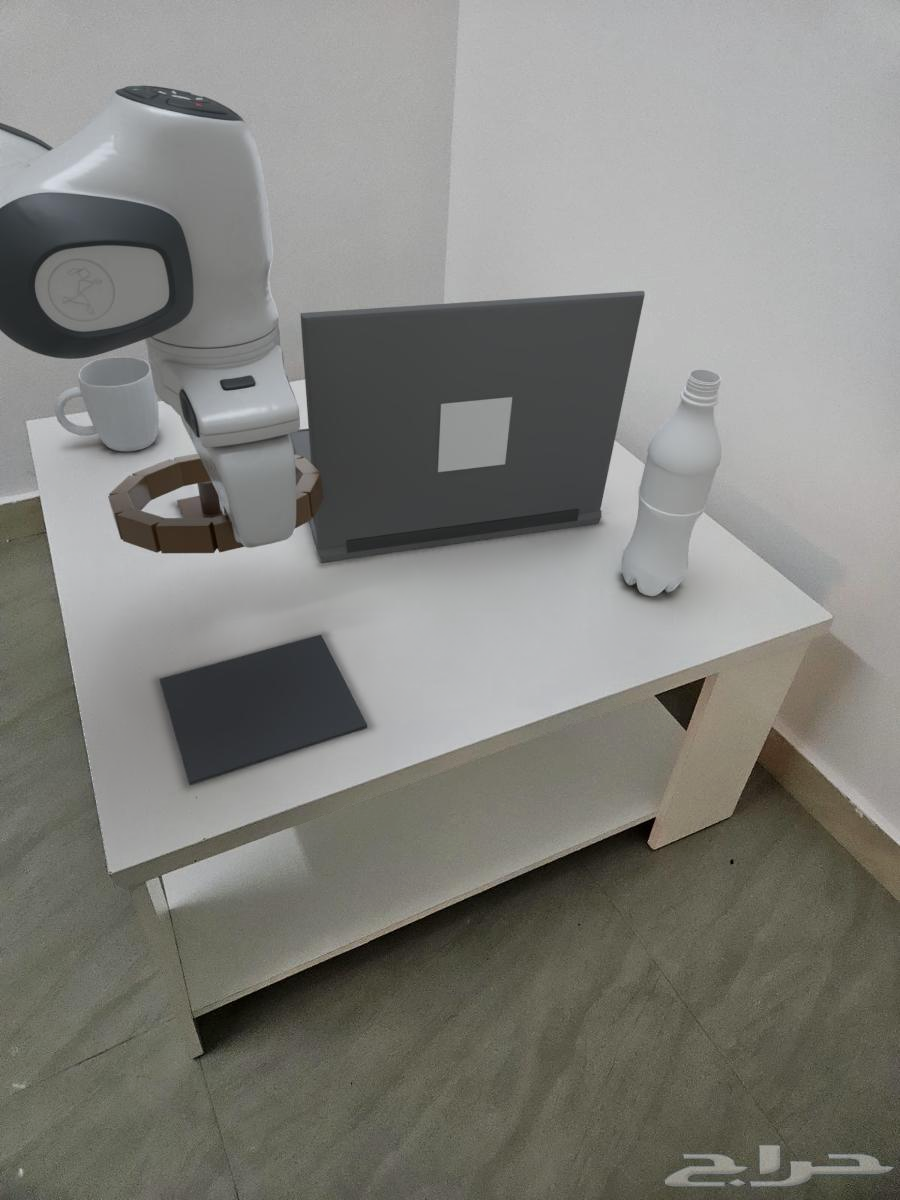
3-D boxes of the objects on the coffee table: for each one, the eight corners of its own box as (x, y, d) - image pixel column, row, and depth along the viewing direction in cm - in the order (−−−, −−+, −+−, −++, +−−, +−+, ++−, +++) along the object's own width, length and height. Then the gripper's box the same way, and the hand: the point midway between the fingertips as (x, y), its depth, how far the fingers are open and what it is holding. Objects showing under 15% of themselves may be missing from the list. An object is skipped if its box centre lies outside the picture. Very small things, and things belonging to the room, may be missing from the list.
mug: (161, 420, 115) (147, 352, 108) (169, 451, 108) (155, 381, 102) (64, 432, 111) (44, 363, 104) (67, 466, 105) (45, 394, 98)
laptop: (522, 417, 120) (546, 213, 102) (600, 523, 101) (647, 294, 82) (284, 441, 112) (264, 223, 93) (319, 563, 92) (302, 317, 74)
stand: (190, 535, 95) (182, 499, 92) (177, 504, 100) (170, 468, 96) (249, 522, 97) (244, 487, 94) (234, 492, 102) (229, 457, 99)
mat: (189, 785, 69) (189, 782, 69) (160, 681, 77) (159, 678, 77) (367, 727, 74) (367, 724, 74) (321, 636, 83) (321, 634, 83)
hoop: (132, 573, 62) (124, 544, 61) (106, 495, 76) (99, 471, 75) (349, 522, 69) (346, 496, 68) (288, 460, 82) (285, 437, 81)
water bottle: (604, 577, 93) (650, 371, 76) (644, 554, 96) (696, 353, 80) (654, 611, 89) (714, 401, 72) (693, 585, 92) (759, 380, 76)
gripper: (141, 312, 62) (171, 468, 71) (206, 439, 48) (233, 613, 57) (223, 302, 64) (243, 455, 73) (308, 421, 51) (319, 590, 60)
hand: (239, 525), depth 65 cm, fingers closed on hoop, 2 cm apart
